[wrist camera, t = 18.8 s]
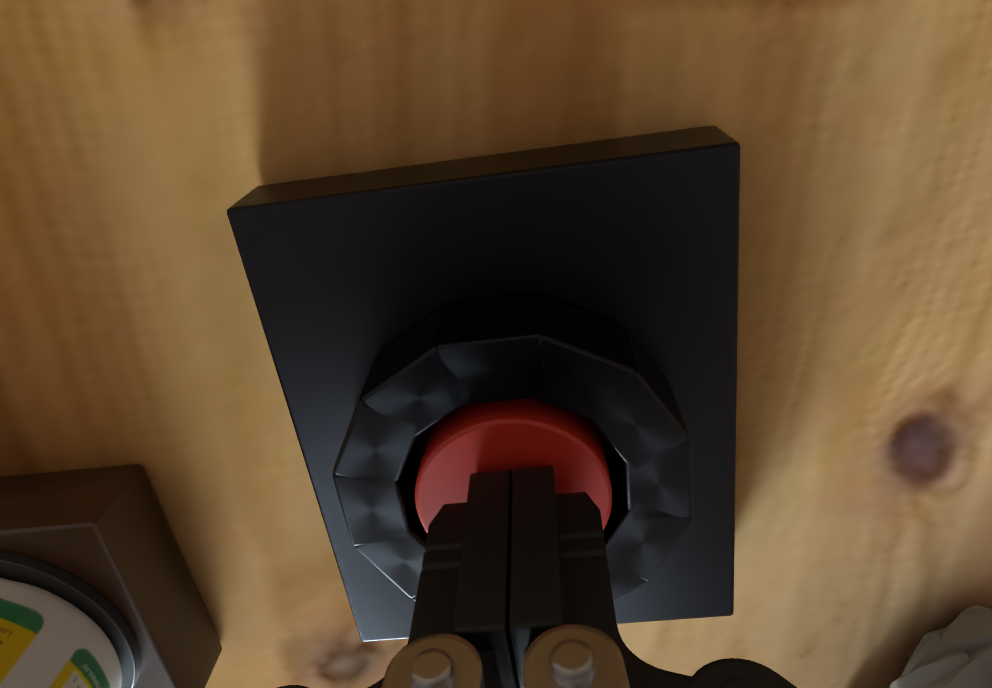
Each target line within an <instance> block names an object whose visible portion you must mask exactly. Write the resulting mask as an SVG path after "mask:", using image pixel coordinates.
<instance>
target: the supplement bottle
mask: <svg viewBox="0 0 992 688" xmlns="http://www.w3.org/2000/svg"><path fill="white" fill-rule="evenodd" d="M121 684H122V673H121V665H120V662H119V659H118V656H117V654H116V651H115V649H114V647H113V645H112V644H111V642H110V640H109V639H108V637H107V636H106V635H105V633H104V632H103V631H102V629H101V628H100V627H99V626H98V625H97V624H96V623H95V622H94V621H93V620H92V619H91V618H90V617H88V616H87V615H86V614H85V613H83V612H82V611H81V610H79V609H78V608H77V607H75V606H74V605H72V604H71V603H69V602H67V601H66V600H64V599H62V598H60V597H58V596H56V595H54V594H52V593H50V592H48V591H46V590H44V589H41V588H38V587H35V586H32V585H29V584H25V583H21V582H16V581H11V580H7V579H3V578H0V688H121Z"/></svg>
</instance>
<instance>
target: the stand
mask: <svg viewBox="0 0 992 688" xmlns="http://www.w3.org/2000/svg"><path fill="white" fill-rule="evenodd" d="M0 578H3V579H7V580H11V581H16V582H21V583H25V584H29V585H32V586H35V587H38V588H41V589H44V590H46V591H48V592H50V593H52V594H54V595H56V596H58V597H60V598H62V599H64V600H66V601H67V602H69V603H71V604H72V605H74V606H75V607H77V608H78V609H79V610H81V611H82V612H83V613H85V614H86V615H87V616H88V617H90V618H91V619H92V620H93V621H94V622H95V623H96V624H97V625H98V626H99V627H100V628H101V629H102V631H103V632H104V633H105V635H106V636H107V637H108V639H109V640H110V642H111V644H112V645H113V647H114V649H115V651H116V654H117V656H118V659H119V662H120V665H121V673H122V684H121V688H205V686H206V684H207V682H208V679H209V677H210V675H211V673H212V671H213V668H214V666H215V664H216V662H217V659H218V657H219V655H220V653H221V650H222V647H221V644H220V642H219V640H218V638H217V635H216V633H215V631H214V629H213V626H212V624H211V622H210V620H209V617H208V615H207V613H206V610H205V608H204V606H203V604H202V601H201V599H200V597H199V595H198V592H197V590H196V588H195V585H194V583H193V581H192V579H191V576H190V574H189V572H188V570H187V567H186V565H185V563H184V561H183V558H182V556H181V554H180V551H179V549H178V547H177V545H176V542H175V540H174V538H173V536H172V533H171V531H170V529H169V526H168V524H167V522H166V520H165V517H164V515H163V513H162V511H161V508H160V506H159V504H158V502H157V499H156V497H155V495H154V492H153V490H152V488H151V486H150V483H149V481H148V479H147V477H146V474H145V472H144V470H143V468H142V466H141V465H131V466H120V467H110V468H100V469H89V470H79V471H69V472H58V473H48V474H38V475H27V476H17V477H7V478H0Z"/></svg>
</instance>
